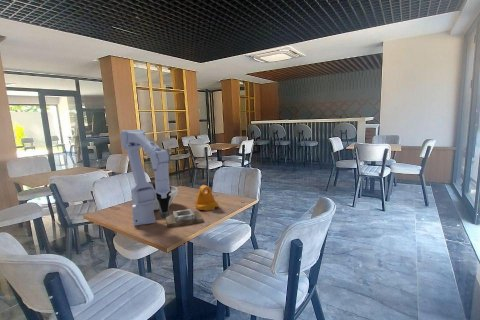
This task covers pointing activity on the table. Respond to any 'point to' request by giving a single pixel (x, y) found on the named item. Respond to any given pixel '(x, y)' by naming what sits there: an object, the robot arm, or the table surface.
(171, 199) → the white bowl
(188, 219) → the nut plate
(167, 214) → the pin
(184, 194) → the table surface
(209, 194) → the bracket
